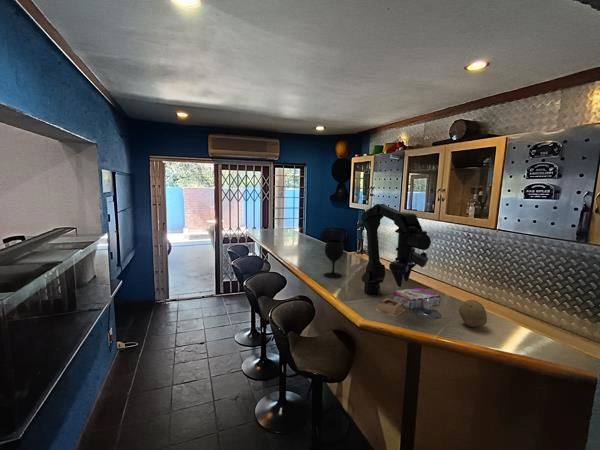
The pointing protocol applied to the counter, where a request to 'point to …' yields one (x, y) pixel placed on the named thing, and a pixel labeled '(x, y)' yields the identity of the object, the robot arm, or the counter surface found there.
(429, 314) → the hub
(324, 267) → the counter surface
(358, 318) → the counter surface
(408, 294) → the candy bar box
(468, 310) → the natural sponge
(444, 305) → the counter surface
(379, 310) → the stand
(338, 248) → the wine glass
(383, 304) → the wooden square frame
